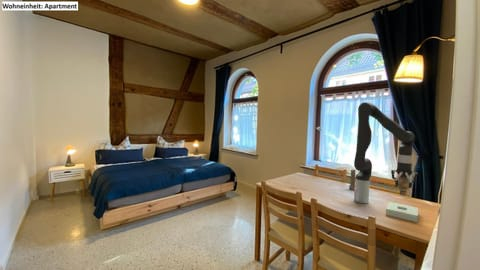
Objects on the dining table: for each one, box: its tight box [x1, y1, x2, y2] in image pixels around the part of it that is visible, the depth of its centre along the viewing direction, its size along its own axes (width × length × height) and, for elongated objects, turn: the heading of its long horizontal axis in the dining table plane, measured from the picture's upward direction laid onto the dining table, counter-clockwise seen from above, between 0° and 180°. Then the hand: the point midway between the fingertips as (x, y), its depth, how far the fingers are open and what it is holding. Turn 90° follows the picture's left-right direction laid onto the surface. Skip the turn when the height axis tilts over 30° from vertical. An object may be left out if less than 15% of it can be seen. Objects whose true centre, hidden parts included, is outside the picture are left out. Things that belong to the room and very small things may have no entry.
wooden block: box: [348, 168, 356, 191], centre depth 191 cm, size 4×11×18 cm, turn 99°
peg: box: [396, 177, 410, 196], centre depth 139 cm, size 6×6×12 cm
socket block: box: [385, 201, 419, 223], centre depth 140 cm, size 16×16×4 cm
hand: (403, 186), depth 139 cm, fingers closed on peg, 6 cm apart
